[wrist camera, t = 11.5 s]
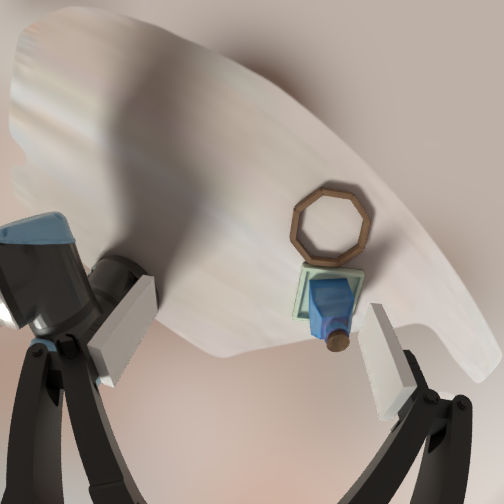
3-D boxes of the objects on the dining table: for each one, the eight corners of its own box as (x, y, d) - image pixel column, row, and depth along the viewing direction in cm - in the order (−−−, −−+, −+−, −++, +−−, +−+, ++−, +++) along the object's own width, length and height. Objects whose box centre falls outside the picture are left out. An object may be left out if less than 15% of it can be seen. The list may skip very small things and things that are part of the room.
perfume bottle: (309, 279, 45) (316, 327, 34) (346, 278, 44) (363, 323, 33) (308, 311, 47) (314, 361, 36) (343, 309, 47) (357, 357, 36)
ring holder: (286, 257, 44) (286, 261, 43) (296, 184, 39) (297, 186, 38) (356, 266, 44) (358, 270, 42) (372, 196, 39) (375, 198, 37)
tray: (292, 314, 48) (292, 320, 47) (302, 263, 44) (303, 267, 43) (347, 319, 48) (349, 324, 47) (363, 270, 44) (365, 274, 42)
